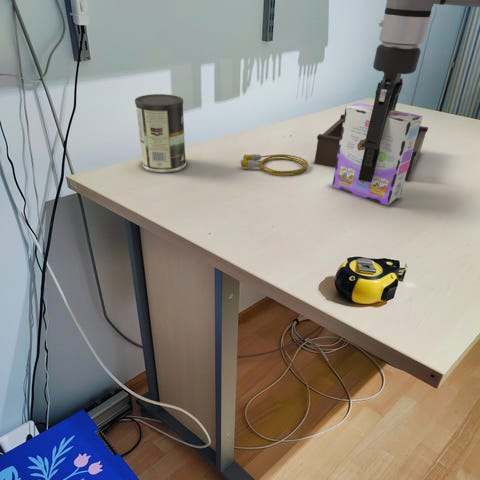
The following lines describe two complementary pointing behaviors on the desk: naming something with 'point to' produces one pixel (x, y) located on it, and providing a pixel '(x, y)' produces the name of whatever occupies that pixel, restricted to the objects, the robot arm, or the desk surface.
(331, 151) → the square shelf
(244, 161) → the extension cord
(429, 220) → the desk surface
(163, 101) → the coffee can
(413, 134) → the candy box
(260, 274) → the desk surface
